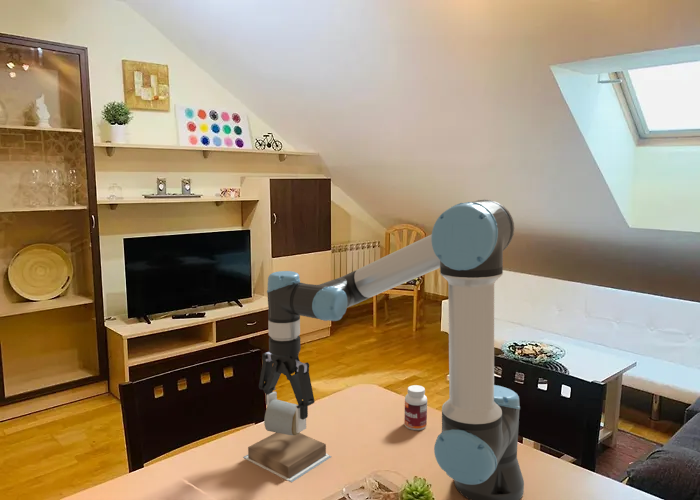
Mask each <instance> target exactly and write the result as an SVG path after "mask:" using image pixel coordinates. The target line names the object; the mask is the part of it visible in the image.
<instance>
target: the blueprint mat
mask: <svg viewBox="0 0 700 500" xmlns="http://www.w3.org/2000/svg"><path fill="white" fill-rule="evenodd" d="M242 458H244V459H245V460H247V462H248V461H249V462H251V463H252V464H254V465H256V466H259V467H260V468H262V469H264V470H267V471H269V472H270V473H272V474H275V475H276V476H278V477H280V478H282V479H284V480H286V481H288V482H290V483H293V482H294V481H296V480H298V479H299V478H301V477H302V476H304V475H306V474H307V473H309V472H310V471H312V470H313V469H315V468H316V467H319V466H320V465H321V464H323V463H324V462H326V461H327V460H329V459H331V458H332V456H331V455H329V454H328V453H327V452H326V456H324V457H322V458H321V459H319V460H318V461H316V462H315V463H313V464H311V465H310V466H308V467H307V468H305V469H303V470H302V471H300V472H299V473H297V474H296V475H294V476H292V477H291V478H287V477H285V476H283V475H281V474H279V473H277V472H275V471H273V470H271V469H269V468H267V467H265V466H263V465H261V464H259V463H257V462H255V461H253V460H251V459H249V458H248V454H246V455H244V456H243V457H242Z"/></svg>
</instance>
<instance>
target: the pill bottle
mask: <svg viewBox="0 0 700 500" xmlns="http://www.w3.org/2000/svg"><path fill="white" fill-rule="evenodd" d="M425 393H426V389H425V387H424V386H422V385H417V384H414V385H410V386H408V387H407V394H406V395H405V397H404V419H403V420H404V422H403V423H404V427H405V428H407V429H409V430H412V431H422V430H424V429H426V428H427V426H428V425H427V423H428V422H427V420H428V398H427V395H425Z"/></svg>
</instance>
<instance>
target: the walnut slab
mask: <svg viewBox="0 0 700 500" xmlns="http://www.w3.org/2000/svg"><path fill="white" fill-rule="evenodd" d="M326 445H327V444H326V443H324V442H322V441H319V440H318V439H315V438H313V437H310V436H308V435H305V434H303V433H301V432H300V433H299V434H297V435H287V434H281V433H276V432H273V434H270V435H269V436H267V437H265V438H263V439H261V440H260V441H257V442H255V443H254V444H251V445H250V446H248V447H247V452H248V454H247V455H248V458H249V459H251V460H253V461H255V462H257V463H259V464H261V465H263V466H265V467H267V468H269V469H271V470H273V471H275V472H277V473H279V474H281V475H283V476H285V477H287V478H291V477H292V476H294V475H296V474H297V473H299V472H300V471H302V470H303V469H305V468H307V467H308V466H310V465H311V464H313V463H315V462H316V461H318V460H319V459H321V458H322V457H324V456H326V453H327V446H326Z"/></svg>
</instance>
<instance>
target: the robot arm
mask: <svg viewBox="0 0 700 500" xmlns="http://www.w3.org/2000/svg"><path fill="white" fill-rule="evenodd" d="M514 232H515V222H514V219H513V216H512V215H511V213H510V211H509V210H508V209H507V208H506V207H505V206H504V205H502V204H501V203H500V202H498V201H494V200H491V199H478V200H475V201H467V202H460V203H457V204H454V205H453V206H451V207H449V208H448V209H446V210H445V211H443V212H442V213H441V214H440V215H439V216H438V218H436V221H435V222H434V224H433V227H432V230H431V234H430V235H427V236H425V237H423V238H420V239H419V240H417V241H415V242H412V243H410V244H409V245H406V246H404V247H402V248H400V249H398V250H395V251H393V252H392V253H390V254H387V255H385V256H383V257H381V258H379V259H377V260H375V261H373V262H372V261H371V262H370V263H368V264H366V265H364V266H362V267H360V268H357V269H356V270H353V271H351V272H349V273H346V274H345V275H341V276H339V277H337V278H335V279H331V280H329V281H325V282H323V283H319V284H310V283H304V282H301V280H300V279H301V278H300V274H299V273H298V272H296V271H292V270H281V271H280V270H279V271H275V272H272V273H270V274H269V275H268V277H267V291H266V294H267V304H268V305H267V308H268V309H267V310H268V326H267V327H268V329H267V330H268V336H269V338H268V351H267V352H264V353H262V354H261V356H262V357H261V359H262V364H261V371H260V377H259V383H258V388H259V390H263V393H264V395H265V396H264V397H265V398H264V399H265V405H266V408H267V407H268V405H269V403H270V402H271V401H272V400H274V399H277V400H278V396H277V395H278V393H277V391H276V390H277V388H276V386H277V384H278V382H279V379H280V377H281V375H284V376H285V377H286V380H288V381H289V384H290V386H291V388H292V391H293V394H294V397H295V400H296V403H297V404H296V405H297V406H296V432H298V433H299V432H300V433H301V432H303V431H305V430H306V429H307V419H308V416H309V411H308V410H309V408H308V407H309V406H311V405H313V404H315V402H316V401H315V397H314V391H313V387H312V382H311V376H310V364H309V362H301V361H300V357H299V354H300V352H301V337H300V335H301V316H302V317H306V318H312V319H316V320H320V321H324V322H330V321H331V322H337V321H340V320H341V319H342V318H343V316H344V315H345V314H346V312H347V308H349V307H352V306H354V305H357V304H360V303H361V302H363V301H366V300H368V299H371V298H373V297H374V296H377V295H379V294H382V293H385V292H386V291H388V290H391V289H394V288H396V287H399V286H400V285H403V284H405V283H407V282H410V281H412V280H414V279H417V278H419V277H421V276H424V275H427V274H428V273H431V272H433V271H436V270H438V269H439V273H440V276H442V277H443V278H444V279H445V280H446V281H447V283H448V284H447V285H448V288H447V289H448V292H447V295H448V297H447V298H448V369H449V370H448V373H449V375H448V379H449V381H448V383H449V384H448V386H449V394H448V395H449V398H448V399H447V400H446V401H445V402H444V403H443V404H442V406H441V433H440V434H438V435H437V437H436V440H435V442H434V446H433V451H434V456H435V460H436V462H437V465H438V466H439V467H440V469H441V470H443V472H444V473H446V475H447V476H448V477H449V478H451V479H452V480H453V481H454V485H455V488H456V490H457V491H458V492H459V493H460V495H462V496H463V497H465V498H466V499H468V500H521V499H522V497H523V495H524V492H525V490H524V489H525V482H524V477H523V476H524V475H523V474H522V470H521V467H520V464H519V463H520V462H519V459H518V442H519V440H518V439H519V425H520V421H519V419H520V410H521V406H520V396H519V395H518V393H517V392H515V391H514V390H512V389H511V388H507V387H504V386H503V385H502V386H501V385H498V384H497V385H496V384H495V283H496V281H498V280H499V278H501V277H502V276H503V273H504V271H503V269H504V268H503V267H504V266H503V263H504V262H503V261H504V251H505V250H506V249H507V248H509V246H510V244H511V242H512V240H513V237H514V234H515V233H514Z"/></svg>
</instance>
